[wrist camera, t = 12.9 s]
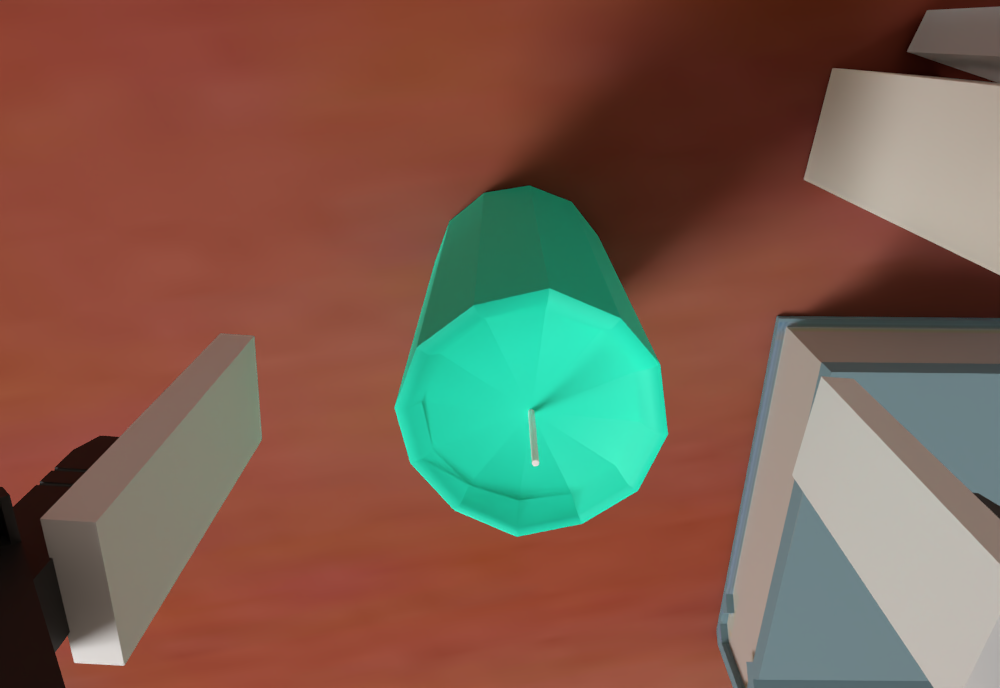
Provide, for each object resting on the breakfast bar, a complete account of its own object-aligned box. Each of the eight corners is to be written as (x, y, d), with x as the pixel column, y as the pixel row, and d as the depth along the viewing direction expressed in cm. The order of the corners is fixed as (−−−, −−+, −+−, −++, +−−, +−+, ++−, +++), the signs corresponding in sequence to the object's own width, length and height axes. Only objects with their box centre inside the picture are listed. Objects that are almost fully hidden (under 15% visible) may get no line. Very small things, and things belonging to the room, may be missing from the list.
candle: (589, 353, 26) (655, 590, 15) (430, 338, 26) (378, 568, 15) (617, 194, 23) (721, 339, 12) (440, 176, 23) (388, 307, 12)
